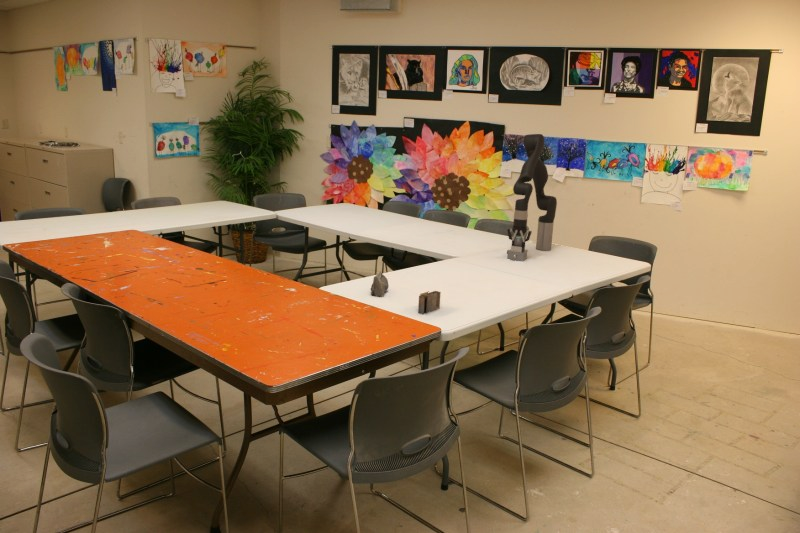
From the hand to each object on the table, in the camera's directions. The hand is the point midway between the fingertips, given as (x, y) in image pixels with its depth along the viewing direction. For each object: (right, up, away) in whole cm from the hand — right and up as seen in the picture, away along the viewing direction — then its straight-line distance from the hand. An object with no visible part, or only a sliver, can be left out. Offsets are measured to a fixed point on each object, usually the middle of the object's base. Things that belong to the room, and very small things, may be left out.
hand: (518, 247), depth 384 cm
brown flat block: (-55, -30, -106) cm, 123 cm away
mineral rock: (-76, -23, -83) cm, 115 cm away
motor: (-2, -7, +1) cm, 7 cm away
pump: (0, -1, 0) cm, 1 cm away
